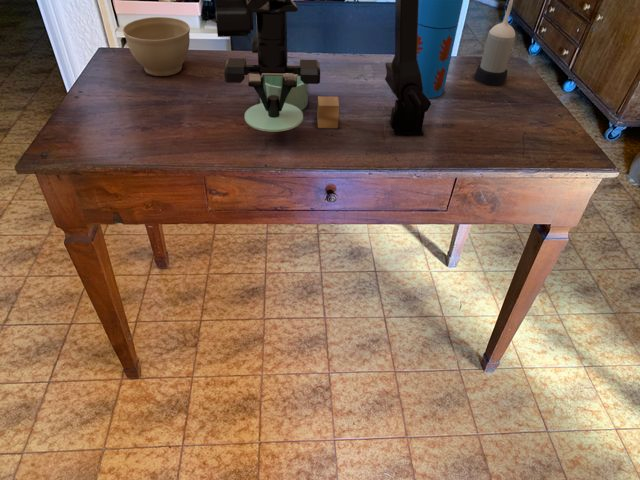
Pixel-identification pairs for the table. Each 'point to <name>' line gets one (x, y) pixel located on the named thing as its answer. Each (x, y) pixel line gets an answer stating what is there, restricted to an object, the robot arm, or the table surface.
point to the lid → (273, 116)
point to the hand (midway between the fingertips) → (273, 110)
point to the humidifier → (496, 53)
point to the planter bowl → (158, 44)
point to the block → (327, 112)
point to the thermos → (436, 42)
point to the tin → (295, 96)
